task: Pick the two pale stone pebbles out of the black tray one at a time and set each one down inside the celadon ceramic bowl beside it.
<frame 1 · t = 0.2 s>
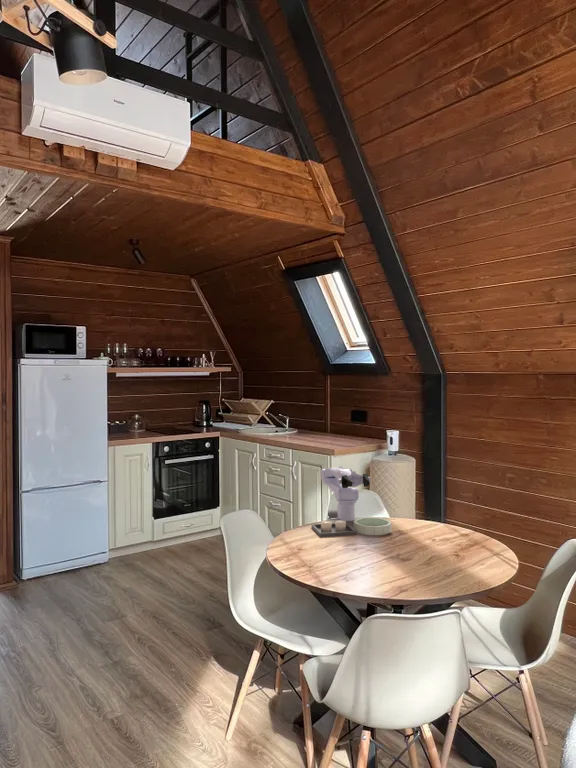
hand: (360, 483, 248), 21 cm above the table, fingers open, 7 cm apart
tray: (333, 533, 247), on the table
pebble b: (340, 530, 247), point 1 cm above the table, touching tray
bowl: (372, 532, 249), on the table
pebble a: (326, 531, 246), point 1 cm above the table, touching tray
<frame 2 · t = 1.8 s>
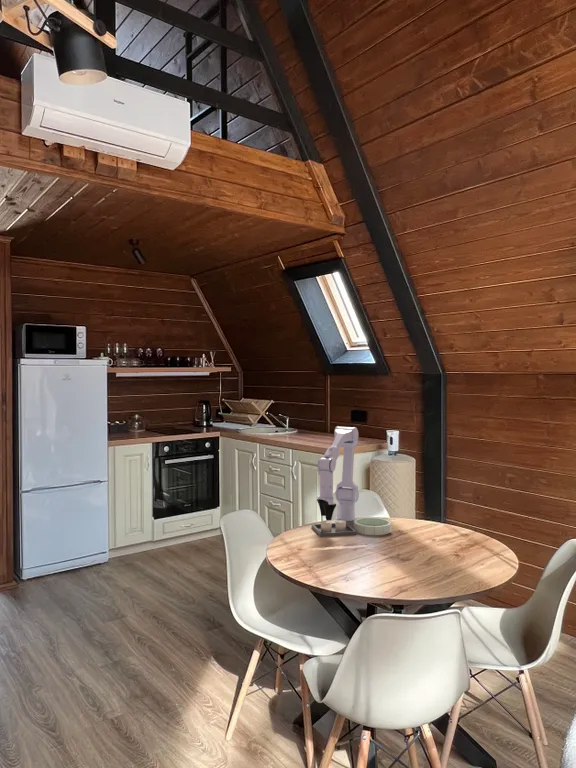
hand: (326, 517, 246), 7 cm above the table, fingers open, 7 cm apart
nothing on the table moved.
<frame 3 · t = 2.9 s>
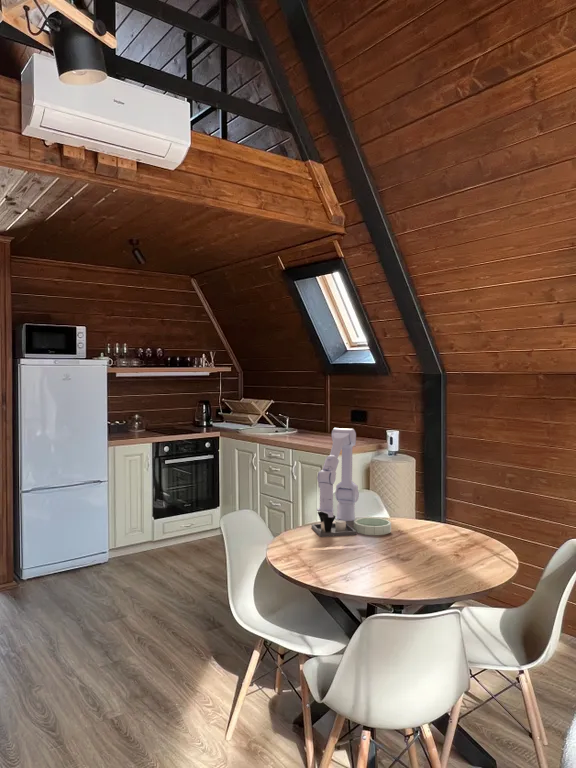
hand: (326, 530, 246), 2 cm above the table, fingers closed on pebble a, 4 cm apart
pebble a: (326, 531, 246), point 1 cm above the table, touching gripper, tray
everything else where it was.
when the fingers open (3 cm above the table, at t = 6.9 s): pebble a drops 2 cm, resting on bowl.
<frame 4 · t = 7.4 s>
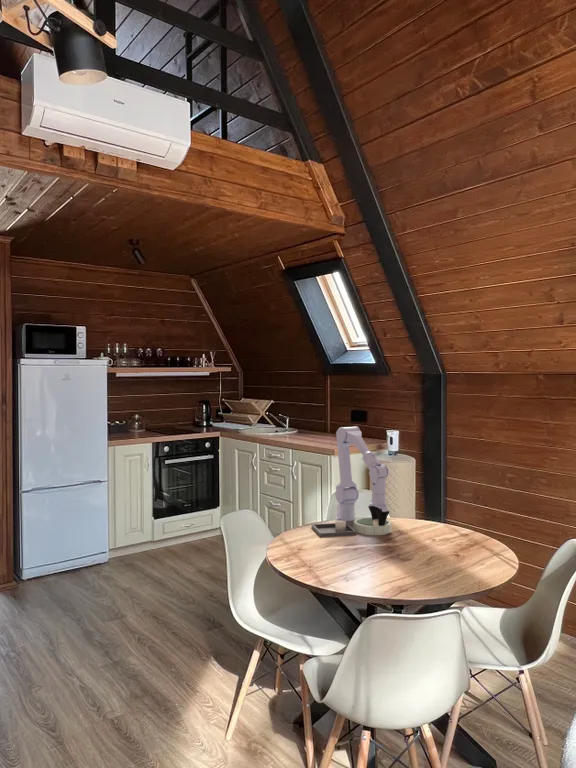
hand: (378, 524, 249), 3 cm above the table, fingers open, 7 cm apart
pebble a: (378, 529, 249), point 1 cm above the table, touching bowl
everything else where it was.
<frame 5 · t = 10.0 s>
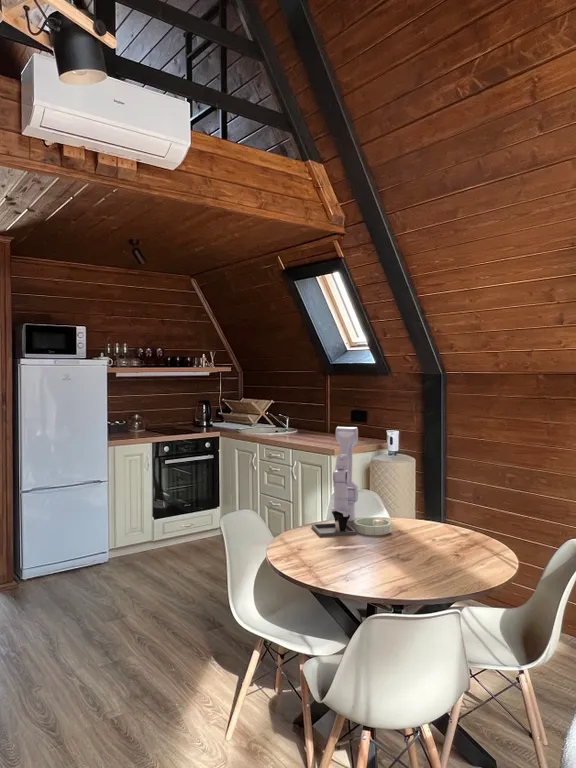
hand: (340, 529, 247), 2 cm above the table, fingers closed on pebble b, 4 cm apart
pebble b: (340, 530, 247), point 1 cm above the table, touching gripper, tray
everything else where it was.
when the fingers open (3 cm above the table, at t = 13.3 s): pebble b drops 2 cm, resting on bowl.
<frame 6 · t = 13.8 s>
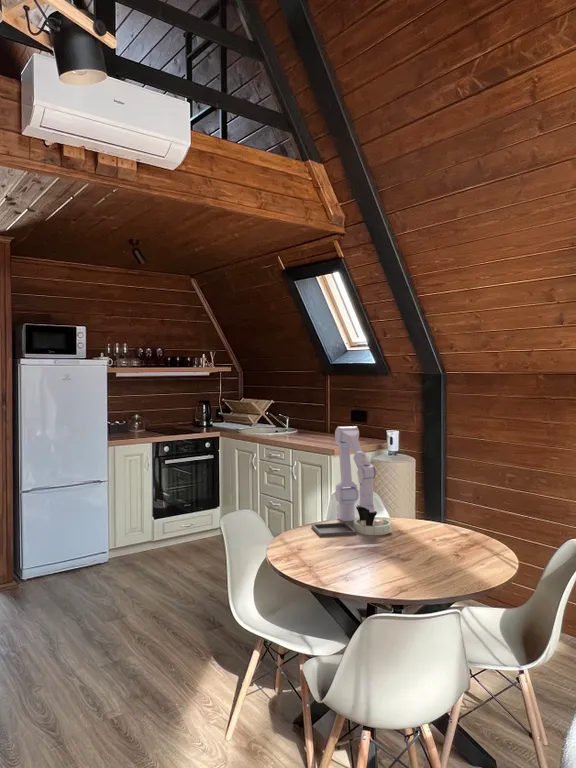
hand: (366, 525, 248), 3 cm above the table, fingers open, 7 cm apart
pebble b: (366, 530, 248), point 1 cm above the table, touching bowl
everything else where it was.
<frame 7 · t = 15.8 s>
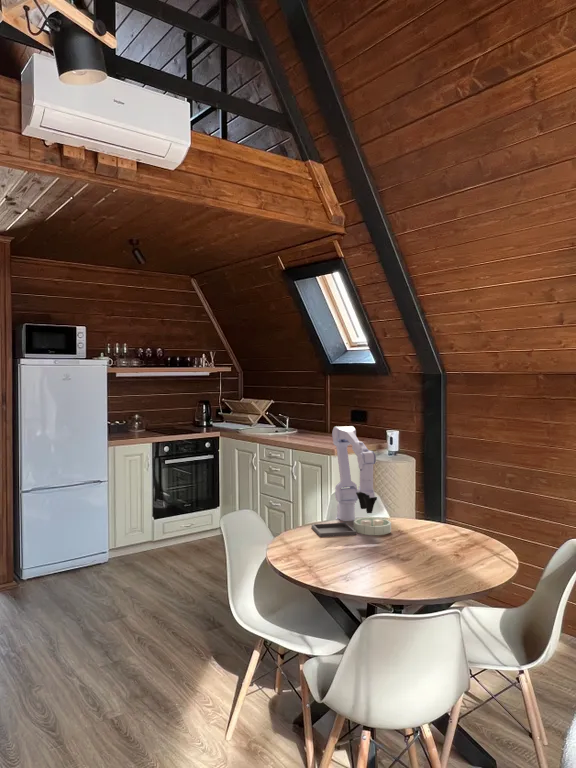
hand: (366, 510, 248), 9 cm above the table, fingers open, 7 cm apart
nothing on the table moved.
at the end: pebble a inside the target area on the bowl (2.7 cm from its centre), point 1.0 cm above the bowl's base; pebble b inside the target area on the bowl (2.9 cm from its centre), point 1.0 cm above the bowl's base; the gripper is holding nothing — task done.
